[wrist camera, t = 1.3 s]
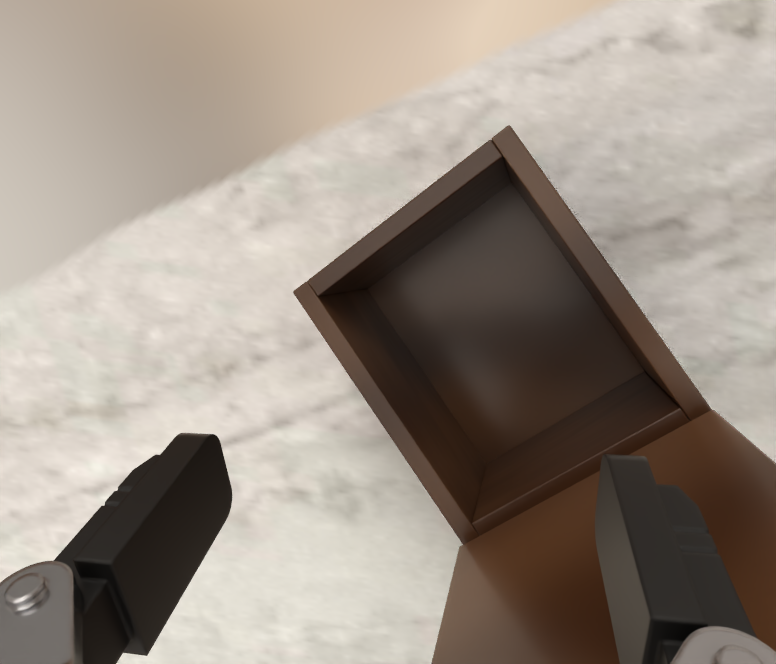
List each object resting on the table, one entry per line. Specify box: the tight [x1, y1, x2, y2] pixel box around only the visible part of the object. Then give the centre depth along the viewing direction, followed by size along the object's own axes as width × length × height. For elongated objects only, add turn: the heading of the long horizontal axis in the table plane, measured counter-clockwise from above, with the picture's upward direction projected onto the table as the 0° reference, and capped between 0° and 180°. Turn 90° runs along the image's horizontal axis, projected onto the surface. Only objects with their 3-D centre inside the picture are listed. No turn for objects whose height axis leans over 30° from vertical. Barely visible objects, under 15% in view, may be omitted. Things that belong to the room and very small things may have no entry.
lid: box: [432, 410, 776, 664], centre depth 14 cm, size 13×11×1 cm
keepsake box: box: [293, 126, 712, 545], centre depth 25 cm, size 13×11×8 cm
